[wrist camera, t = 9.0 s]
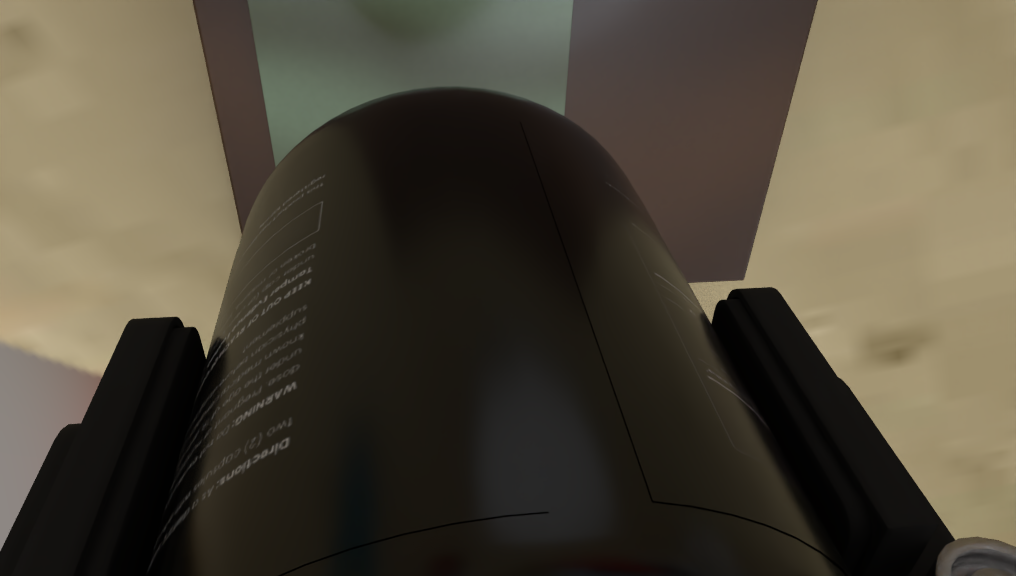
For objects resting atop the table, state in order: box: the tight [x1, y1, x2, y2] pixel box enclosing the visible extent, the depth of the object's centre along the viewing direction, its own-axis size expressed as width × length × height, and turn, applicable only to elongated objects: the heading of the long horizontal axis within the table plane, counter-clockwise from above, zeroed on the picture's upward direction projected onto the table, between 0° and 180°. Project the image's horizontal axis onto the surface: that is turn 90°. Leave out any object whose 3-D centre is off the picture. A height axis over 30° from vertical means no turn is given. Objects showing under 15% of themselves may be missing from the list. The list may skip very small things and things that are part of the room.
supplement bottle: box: [146, 86, 852, 576], centre depth 8 cm, size 7×7×12 cm
